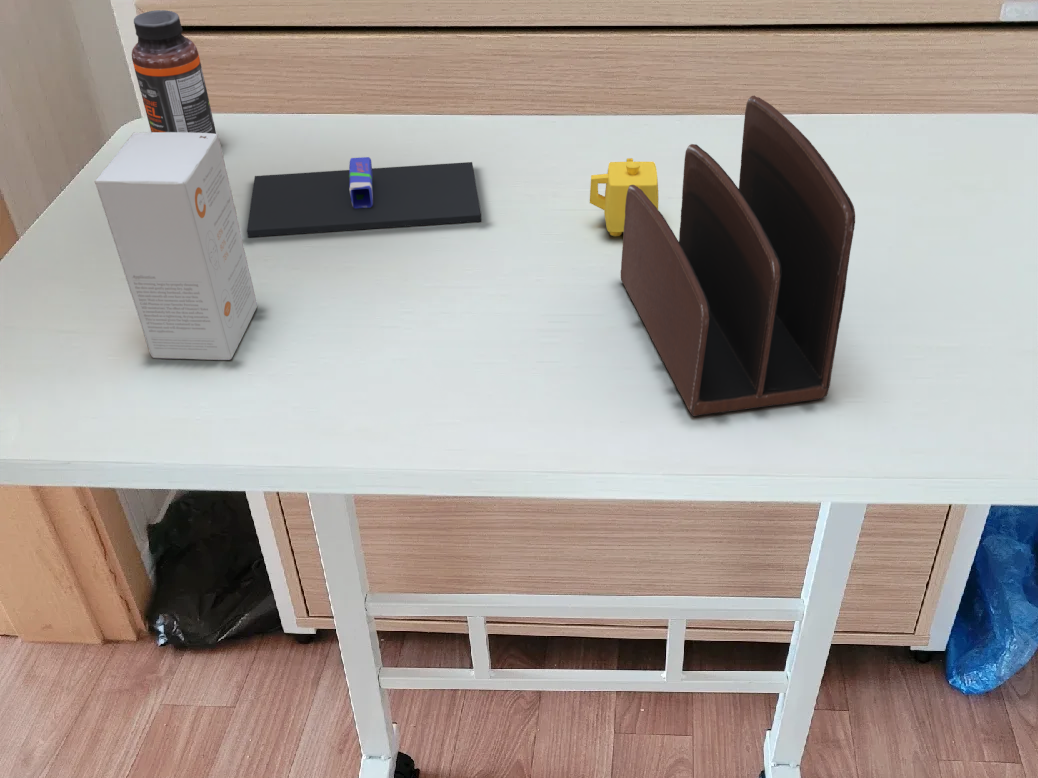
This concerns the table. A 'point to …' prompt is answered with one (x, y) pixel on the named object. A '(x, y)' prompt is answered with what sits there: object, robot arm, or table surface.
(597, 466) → the table surface
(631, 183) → the teapot
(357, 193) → the eraser
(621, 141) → the table surface
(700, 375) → the letter holder
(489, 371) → the table surface
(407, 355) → the table surface
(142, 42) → the supplement bottle
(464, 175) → the mat
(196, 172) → the small box
